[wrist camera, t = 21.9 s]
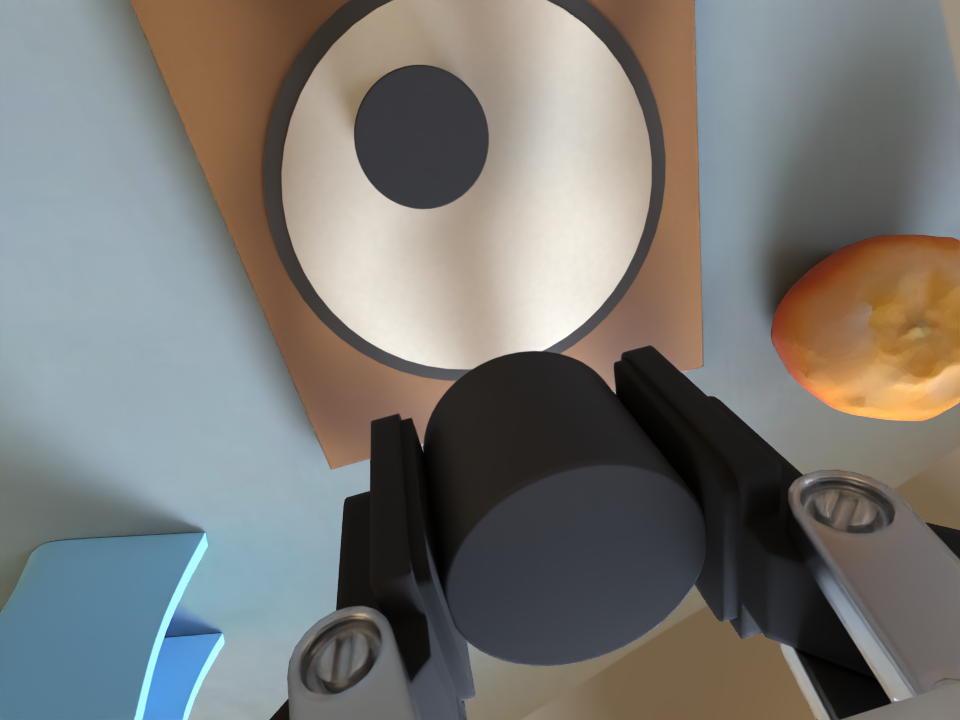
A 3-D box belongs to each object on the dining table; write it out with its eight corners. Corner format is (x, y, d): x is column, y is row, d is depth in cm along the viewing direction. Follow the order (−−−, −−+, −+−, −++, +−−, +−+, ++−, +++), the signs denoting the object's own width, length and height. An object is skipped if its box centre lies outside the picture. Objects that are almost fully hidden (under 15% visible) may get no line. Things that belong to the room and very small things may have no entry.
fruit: (829, 436, 29) (912, 477, 21) (721, 326, 30) (764, 327, 22) (964, 330, 28) (1108, 333, 20) (847, 217, 28) (940, 177, 21)
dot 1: (457, 56, 19) (473, 49, 16) (481, 176, 21) (500, 192, 18) (341, 83, 19) (334, 82, 15) (376, 202, 20) (376, 223, 17)
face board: (672, -177, 18) (692, -196, 17) (691, 356, 27) (705, 368, 26) (118, -55, 17) (99, -66, 16) (332, 454, 26) (330, 472, 25)
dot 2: (607, 325, 10) (708, 425, 7) (625, 488, 12) (712, 624, 9) (399, 381, 10) (410, 510, 7) (449, 539, 12) (476, 696, 9)
